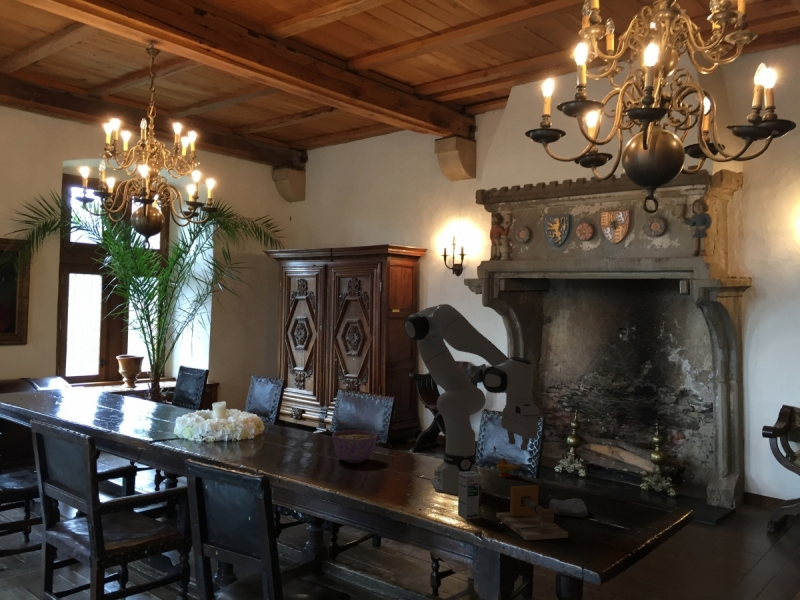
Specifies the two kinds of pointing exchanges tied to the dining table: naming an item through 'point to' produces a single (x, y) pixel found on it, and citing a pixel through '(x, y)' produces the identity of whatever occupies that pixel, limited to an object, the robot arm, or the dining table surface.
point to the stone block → (569, 507)
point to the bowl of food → (354, 445)
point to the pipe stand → (533, 522)
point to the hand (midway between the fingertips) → (517, 446)
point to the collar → (516, 499)
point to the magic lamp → (505, 466)
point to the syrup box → (469, 495)
